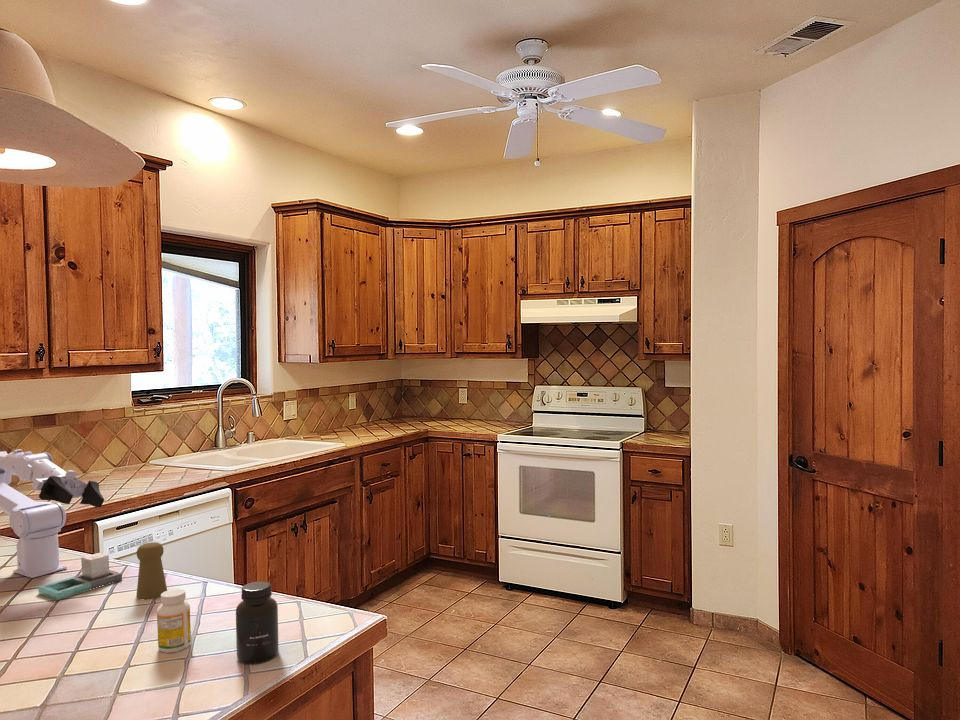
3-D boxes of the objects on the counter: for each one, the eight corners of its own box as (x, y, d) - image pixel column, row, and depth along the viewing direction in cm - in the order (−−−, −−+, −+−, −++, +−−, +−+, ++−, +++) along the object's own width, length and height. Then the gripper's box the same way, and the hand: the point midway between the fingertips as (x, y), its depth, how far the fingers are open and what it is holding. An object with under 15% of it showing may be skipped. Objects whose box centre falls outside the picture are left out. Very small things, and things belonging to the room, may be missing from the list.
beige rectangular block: (82, 583, 156) (81, 557, 156) (100, 578, 159) (99, 552, 159) (91, 586, 154) (90, 560, 153) (109, 581, 157) (108, 555, 157)
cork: (136, 592, 149) (134, 542, 149) (167, 587, 152) (165, 538, 151) (135, 601, 143) (133, 549, 143) (167, 596, 146) (165, 545, 146)
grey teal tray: (38, 593, 150) (38, 586, 150) (103, 574, 162) (102, 568, 162) (57, 600, 146) (57, 593, 146) (122, 579, 157) (121, 573, 157)
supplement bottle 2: (255, 668, 112) (252, 596, 112) (228, 659, 116) (225, 588, 115) (287, 651, 118) (285, 582, 118) (260, 643, 122) (258, 576, 121)
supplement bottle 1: (174, 655, 118) (172, 600, 118) (151, 651, 120) (148, 596, 120) (198, 642, 123) (196, 589, 123) (175, 638, 125) (173, 586, 125)
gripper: (31, 458, 155) (63, 480, 148) (89, 468, 167) (121, 488, 161) (17, 488, 154) (48, 511, 147) (77, 495, 167) (108, 517, 160)
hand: (85, 501), depth 154 cm, fingers open, 7 cm apart
